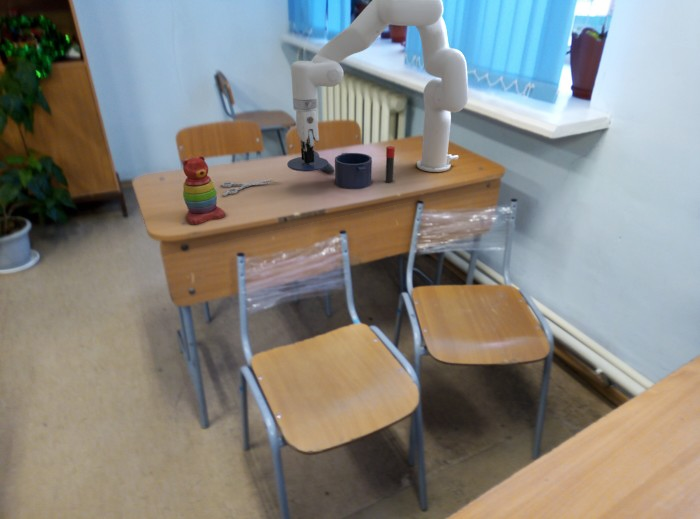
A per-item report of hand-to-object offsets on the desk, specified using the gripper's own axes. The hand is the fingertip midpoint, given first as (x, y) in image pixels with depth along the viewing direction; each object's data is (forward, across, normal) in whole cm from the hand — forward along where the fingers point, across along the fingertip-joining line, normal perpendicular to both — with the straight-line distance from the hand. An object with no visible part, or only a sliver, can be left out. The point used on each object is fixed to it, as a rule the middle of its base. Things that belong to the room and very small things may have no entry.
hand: (307, 160), depth 158 cm
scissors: (+10, +9, +19) cm, 23 cm away
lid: (+1, 0, 0) cm, 1 cm away
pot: (+10, 0, -16) cm, 19 cm away
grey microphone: (+10, +19, -10) cm, 24 cm away
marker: (+10, -4, -28) cm, 30 cm away
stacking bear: (+10, -10, +36) cm, 39 cm away
